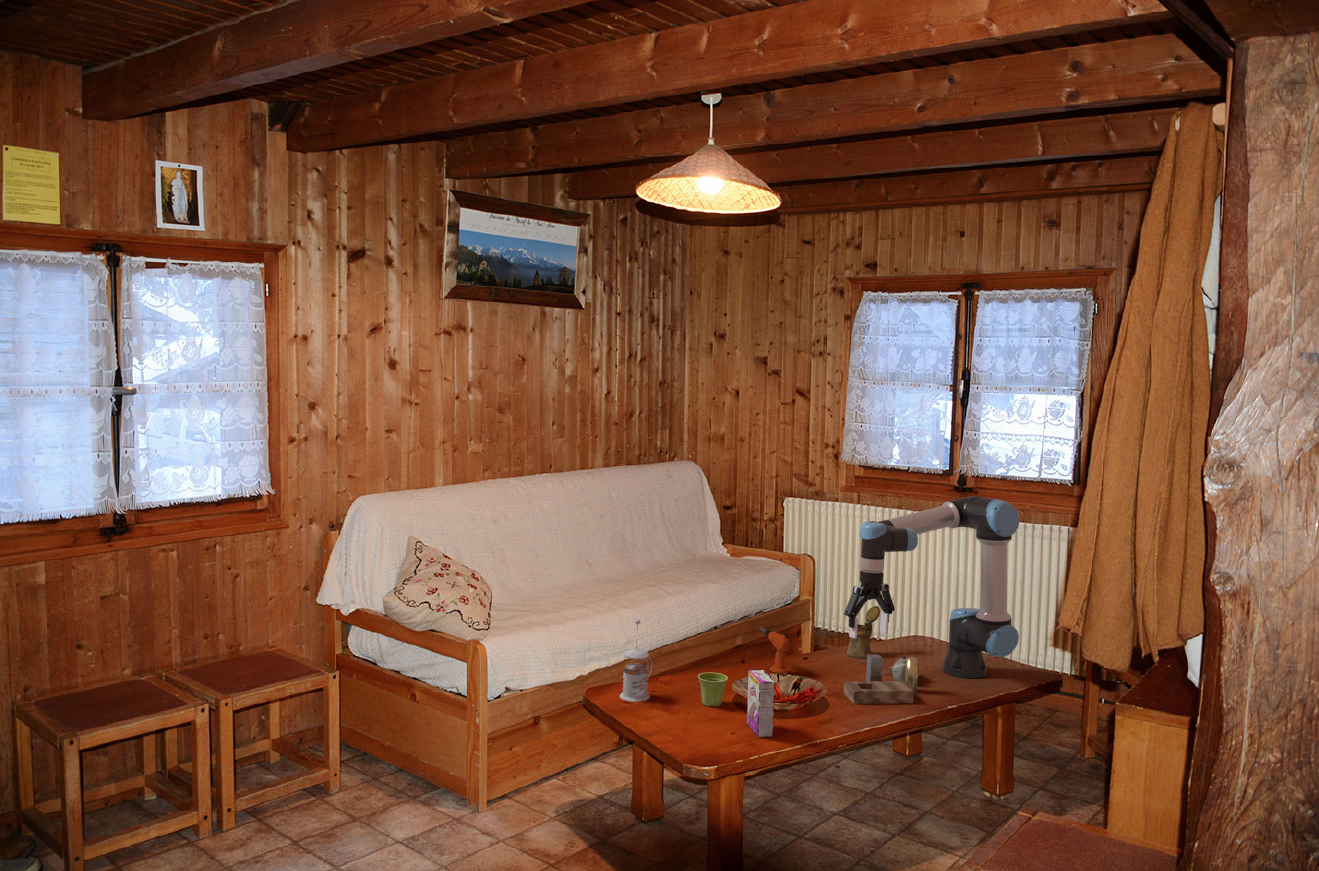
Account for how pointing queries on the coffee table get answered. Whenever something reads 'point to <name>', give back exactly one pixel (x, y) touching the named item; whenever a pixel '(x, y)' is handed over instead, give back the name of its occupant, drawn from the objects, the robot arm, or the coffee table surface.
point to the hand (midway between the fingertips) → (868, 635)
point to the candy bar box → (760, 703)
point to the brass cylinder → (912, 673)
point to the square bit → (874, 668)
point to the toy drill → (778, 649)
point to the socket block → (878, 692)
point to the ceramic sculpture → (899, 669)
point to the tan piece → (863, 635)
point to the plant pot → (712, 688)
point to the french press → (635, 676)
